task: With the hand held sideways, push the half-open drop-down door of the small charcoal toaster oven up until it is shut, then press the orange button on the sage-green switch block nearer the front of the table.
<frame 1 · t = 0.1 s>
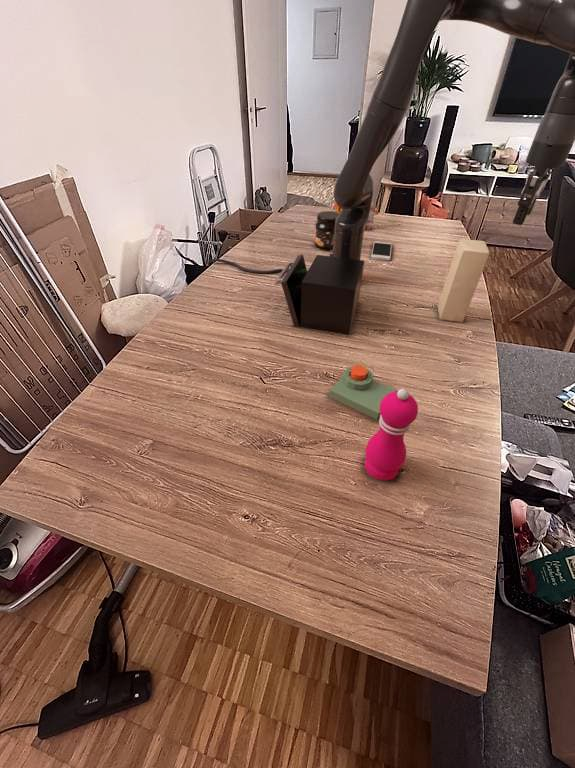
hand: (521, 218, 90), 29 cm above the table, tool pointing down, fingers open, 8 cm apart
pepper mill: (381, 467, 71), on the table
tall wooden block: (450, 315, 113), on the table
oven: (330, 315, 112), on the table
supplement container: (327, 246, 151), on the table
button: (358, 373, 85), point 4 cm above the table, slide at 0.1 cm
oven door: (294, 290, 110), point 6 cm above the table, hinge at 16.5°
switch block: (361, 396, 86), on the table
doll family: (350, 229, 165), on the table
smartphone: (381, 252, 147), on the table
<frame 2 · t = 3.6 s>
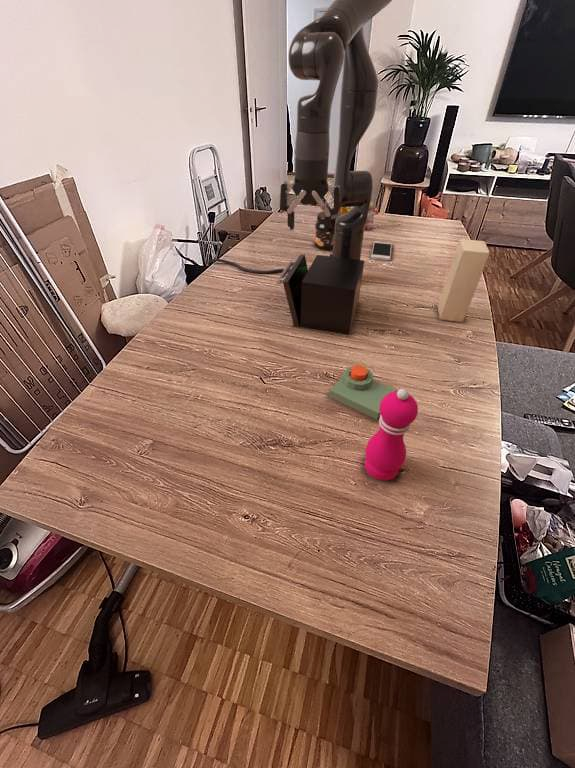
hand: (308, 229, 94), 25 cm above the table, tool pointing down, fingers open, 8 cm apart
oven door: (294, 290, 110), point 6 cm above the table, hinge at 14.3°
everything else where it was.
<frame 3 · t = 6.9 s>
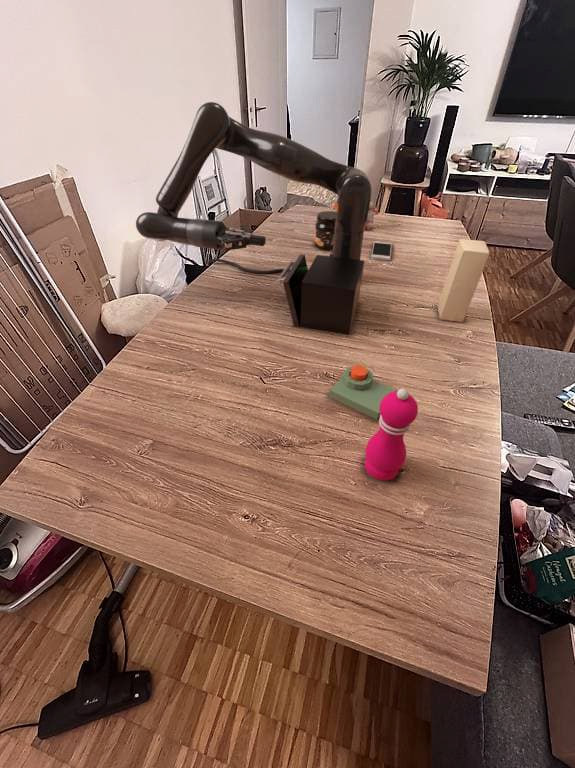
hand: (264, 241, 102), 20 cm above the table, tool horizontal, fingers closed
nothing on the table moved.
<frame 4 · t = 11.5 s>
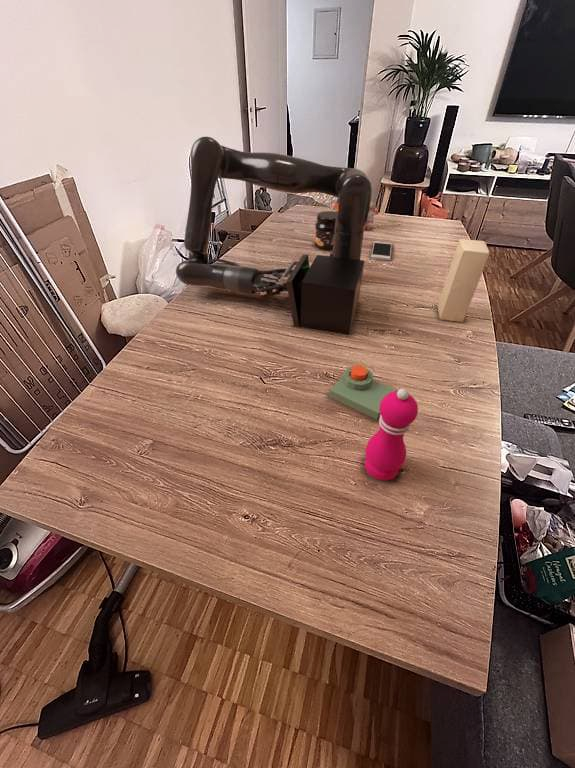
hand: (297, 288, 109), 7 cm above the table, tool horizontal, fingers closed
oven door: (296, 289, 109), point 7 cm above the table, hinge at 10.2°, touching gripper
everything else where it was.
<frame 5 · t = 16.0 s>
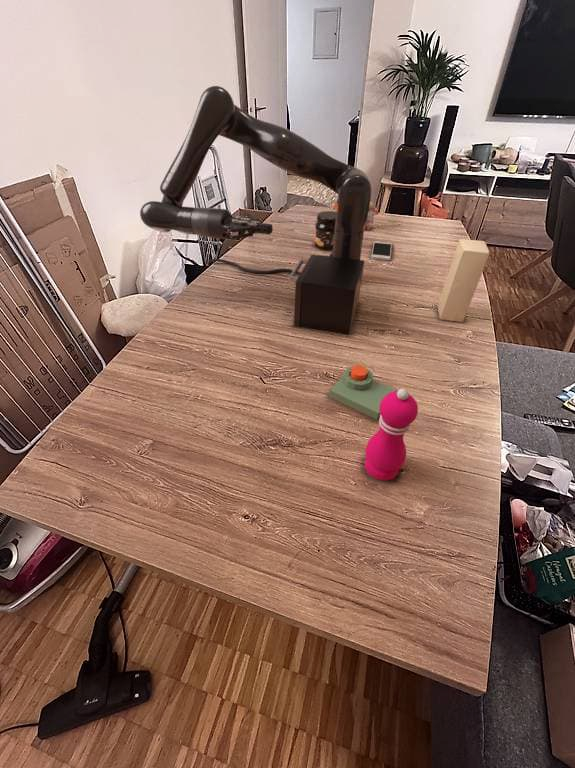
hand: (271, 229, 100), 23 cm above the table, tool horizontal, fingers closed
oven door: (300, 289, 109), point 7 cm above the table, hinge at -0.8°
everything else where it was.
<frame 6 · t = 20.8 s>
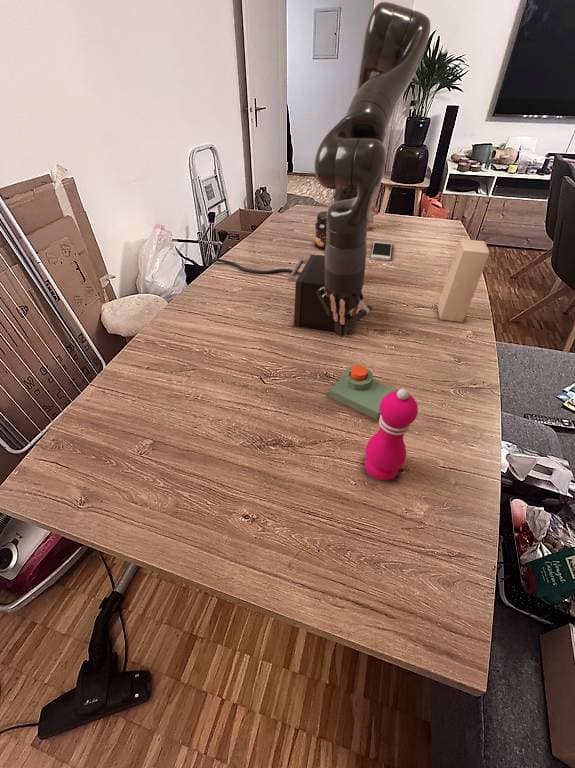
hand: (341, 333, 82), 13 cm above the table, tool pointing down, fingers closed
nothing on the table moved.
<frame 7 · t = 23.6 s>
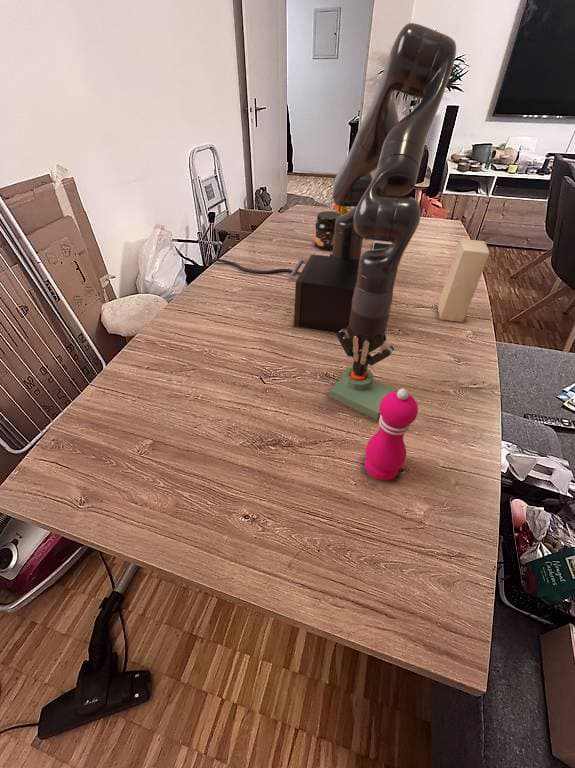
hand: (359, 373, 85), 4 cm above the table, tool pointing down, fingers closed
button: (358, 376, 85), point 4 cm above the table, slide at -0.8 cm, touching gripper
everything else where it was.
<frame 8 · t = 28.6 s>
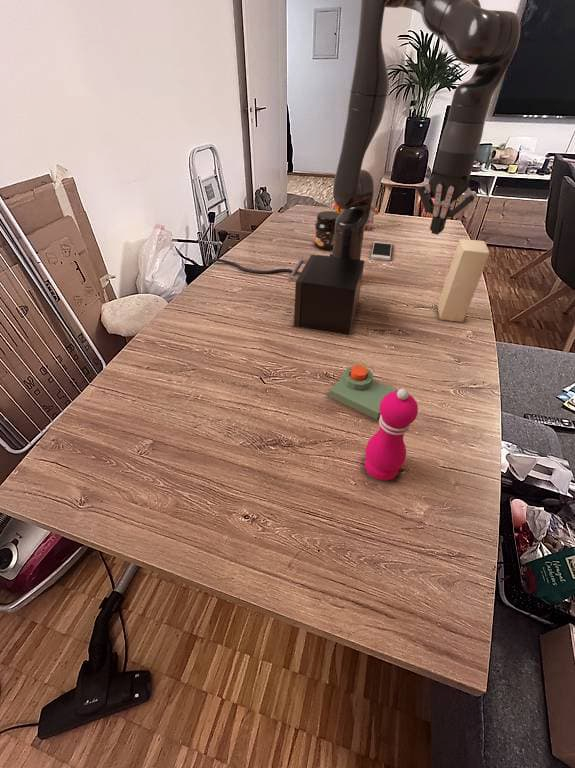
hand: (435, 233, 88), 27 cm above the table, tool pointing down, fingers closed
button: (358, 373, 85), point 4 cm above the table, slide at 0.1 cm
everything else where it was.
at the end: button pushed in 1.0 cm at the most during the clip, back to where it started at the end; button slide at 0.1 cm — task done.
